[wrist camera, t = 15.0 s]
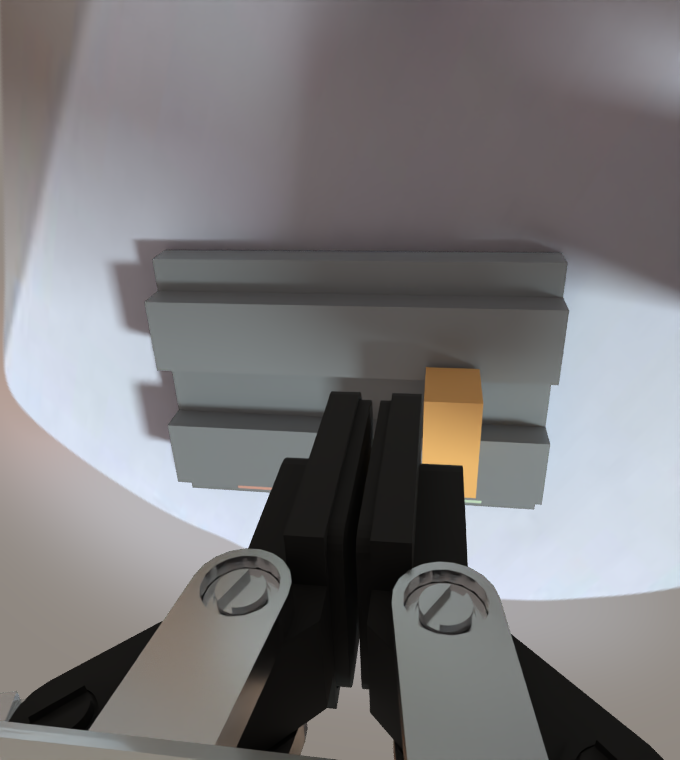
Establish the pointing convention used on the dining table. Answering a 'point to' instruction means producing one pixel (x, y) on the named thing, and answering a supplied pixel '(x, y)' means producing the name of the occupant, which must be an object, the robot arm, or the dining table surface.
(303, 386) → the grey slotted track
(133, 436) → the dining table surface
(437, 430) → the switch knob
